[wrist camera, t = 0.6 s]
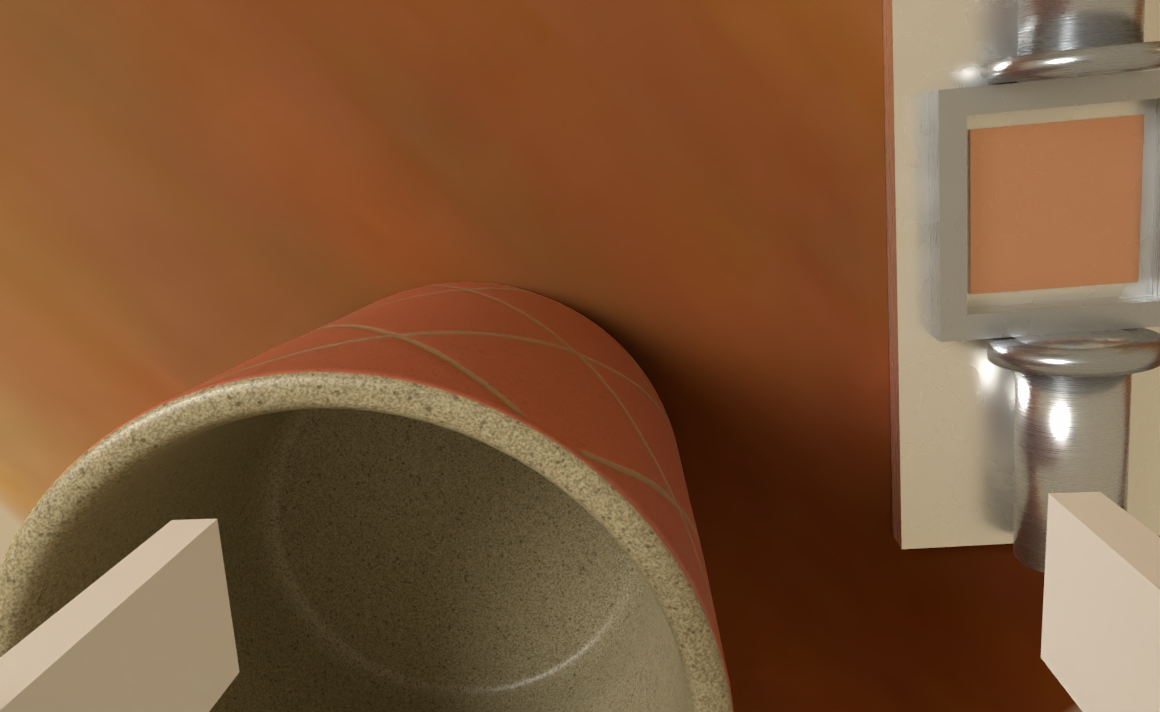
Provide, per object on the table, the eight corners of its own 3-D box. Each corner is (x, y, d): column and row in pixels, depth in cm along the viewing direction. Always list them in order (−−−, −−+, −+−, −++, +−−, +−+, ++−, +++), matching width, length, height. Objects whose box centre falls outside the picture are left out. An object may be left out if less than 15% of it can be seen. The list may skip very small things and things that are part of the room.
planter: (186, 457, 44) (-176, 709, 25) (484, 166, 40) (335, 193, 21) (476, 740, 46) (355, 1177, 27) (784, 490, 43) (902, 786, 23)
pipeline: (879, -155, 37) (928, -217, 30) (1211, -193, 36) (1333, -264, 29) (892, 535, 43) (936, 604, 36) (1177, 519, 42) (1273, 587, 35)
